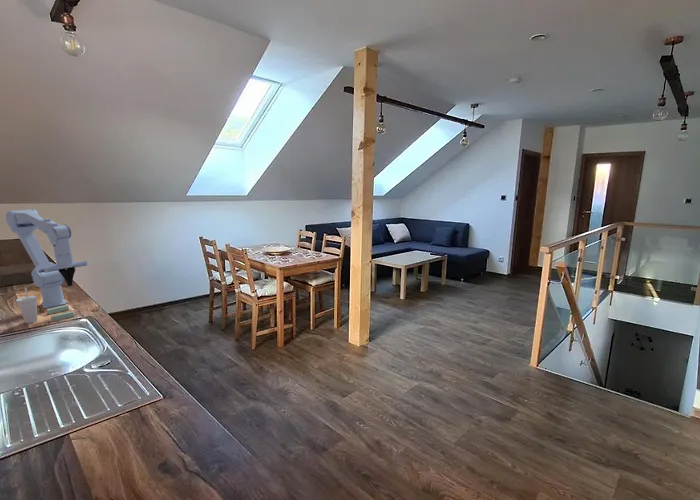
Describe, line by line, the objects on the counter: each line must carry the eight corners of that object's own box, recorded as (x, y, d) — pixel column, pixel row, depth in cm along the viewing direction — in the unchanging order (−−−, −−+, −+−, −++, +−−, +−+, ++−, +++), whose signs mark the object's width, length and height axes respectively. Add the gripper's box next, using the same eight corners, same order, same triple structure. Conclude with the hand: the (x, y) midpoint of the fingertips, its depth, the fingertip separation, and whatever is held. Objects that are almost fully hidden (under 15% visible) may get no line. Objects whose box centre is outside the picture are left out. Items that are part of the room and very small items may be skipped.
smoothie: (29, 325, 143) (22, 290, 140) (16, 324, 144) (8, 289, 142) (46, 318, 149) (39, 285, 146) (33, 317, 151) (26, 284, 148)
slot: (47, 313, 155) (46, 309, 155) (68, 308, 160) (67, 304, 160) (52, 321, 146) (51, 317, 146) (73, 316, 151) (73, 312, 151)
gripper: (42, 258, 148) (50, 291, 150) (86, 252, 158) (92, 283, 160) (40, 256, 152) (47, 288, 155) (82, 250, 163) (88, 280, 165)
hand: (70, 285), depth 158 cm, fingers closed
